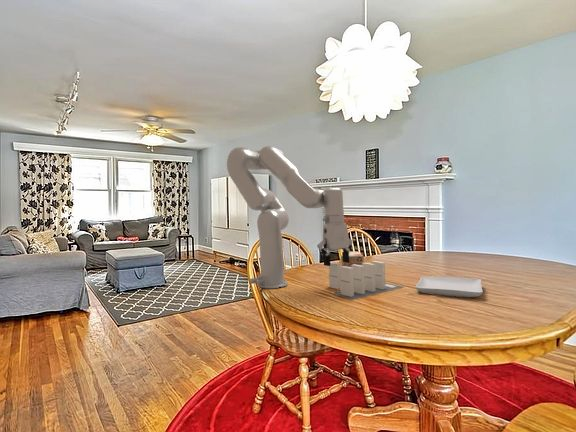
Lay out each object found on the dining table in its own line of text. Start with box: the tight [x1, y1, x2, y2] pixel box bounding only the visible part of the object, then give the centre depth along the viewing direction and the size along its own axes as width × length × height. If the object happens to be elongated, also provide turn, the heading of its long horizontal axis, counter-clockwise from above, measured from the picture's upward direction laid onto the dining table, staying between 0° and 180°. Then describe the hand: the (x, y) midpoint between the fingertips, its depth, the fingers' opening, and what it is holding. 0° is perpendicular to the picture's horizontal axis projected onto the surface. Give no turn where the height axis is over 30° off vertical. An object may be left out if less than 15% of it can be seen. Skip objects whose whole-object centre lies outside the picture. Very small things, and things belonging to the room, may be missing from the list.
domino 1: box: [328, 261, 342, 290], centre depth 135 cm, size 2×5×10 cm, turn 34°
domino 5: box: [371, 260, 386, 289], centre depth 133 cm, size 2×5×10 cm, turn 34°
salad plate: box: [415, 275, 484, 298], centre depth 127 cm, size 21×21×3 cm
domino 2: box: [340, 265, 354, 297], centre depth 123 cm, size 2×5×10 cm, turn 34°
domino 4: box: [362, 262, 375, 292], centre depth 130 cm, size 2×5×10 cm, turn 34°
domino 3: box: [351, 264, 365, 294], centre depth 127 cm, size 2×5×10 cm, turn 34°
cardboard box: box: [340, 251, 365, 267], centre depth 150 cm, size 21×6×12 cm, turn 179°
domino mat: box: [330, 282, 405, 301], centre depth 130 cm, size 28×11×1 cm, turn 124°
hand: (336, 263), depth 134 cm, fingers open, 9 cm apart
